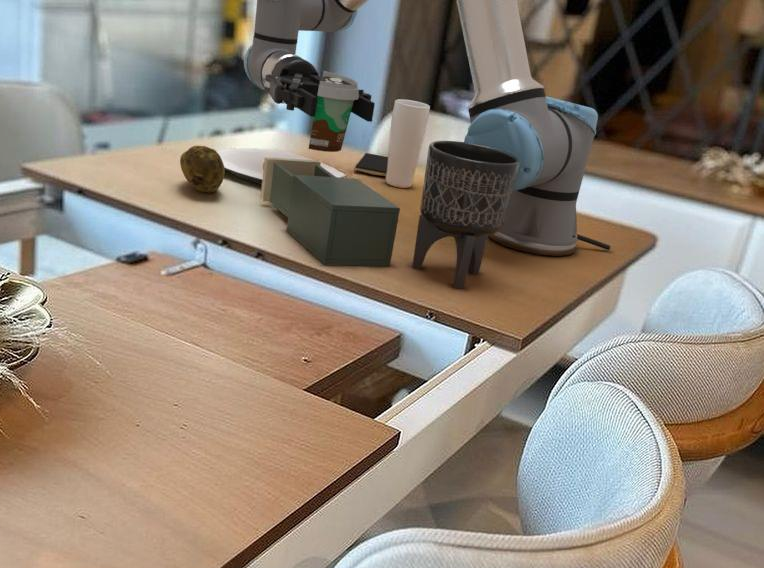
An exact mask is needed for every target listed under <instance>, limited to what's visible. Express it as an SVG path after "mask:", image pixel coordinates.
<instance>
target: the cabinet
mask: <svg viewBox="0 0 764 568" xmlns="http://www.w3.org/2000/svg"><path fill="white" fill-rule="evenodd" d="M400 210H401V207H399V206H398V205H396V204H395V203H394V202H392V201H391V200H389V199H387V198H386V197H385V196H384V195H381V194H380V193H378V192H377V191H376V190H374V189H373V188H372V187H370V186H368V185H367V184H366V183H364V182H363V181H361V180H360V179H358V178H353V177H344V178H339V177H322V176H305V175H293V181H292V190H291V198H290V206H289V214H288V217H287V225H286V233H288V234H289V235H290V236H291V237H292V238H293V239H294V240H295V241H297V242H298V243H299V244H300V245H301V246H302V247H304V249H305V250H307V251H308V252H309V254H311V255H312V256H313V257H315V259H317V260H318V261H319V262H320V263H321V264H323V266H351V267H352V266H353V267H354V266H356V267H357V266H360V267H361V266H362V267H391V262H392V257H393V251H394V246H395V239H396V234H397V227H398V224H399V223H398V222H399V217H400Z"/></svg>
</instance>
